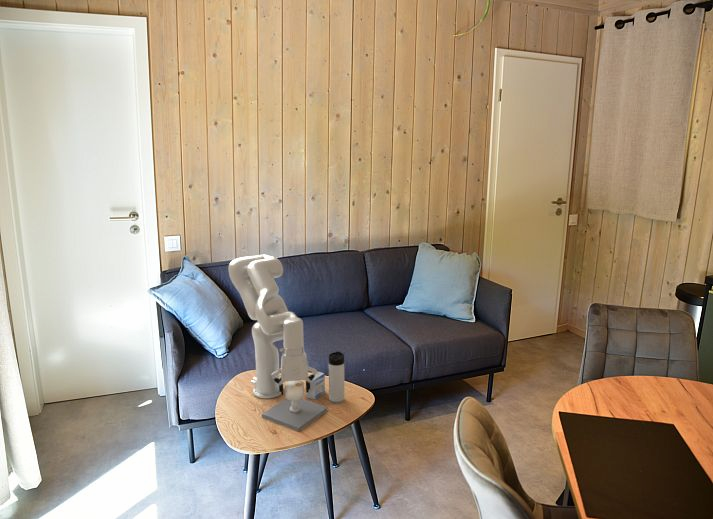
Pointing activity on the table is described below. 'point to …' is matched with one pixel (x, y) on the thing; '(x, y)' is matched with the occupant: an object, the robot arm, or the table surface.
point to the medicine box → (316, 386)
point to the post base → (294, 413)
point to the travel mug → (336, 377)
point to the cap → (294, 390)
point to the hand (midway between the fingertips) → (294, 392)
